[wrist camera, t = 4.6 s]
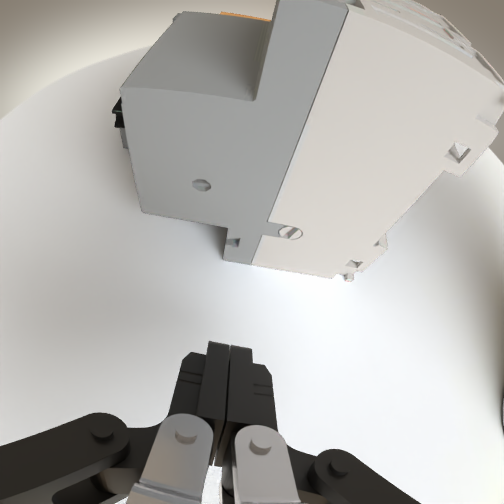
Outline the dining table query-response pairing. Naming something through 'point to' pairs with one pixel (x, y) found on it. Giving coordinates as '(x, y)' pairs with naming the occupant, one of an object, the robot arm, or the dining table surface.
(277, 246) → the circuit breaker
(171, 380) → the dining table surface
